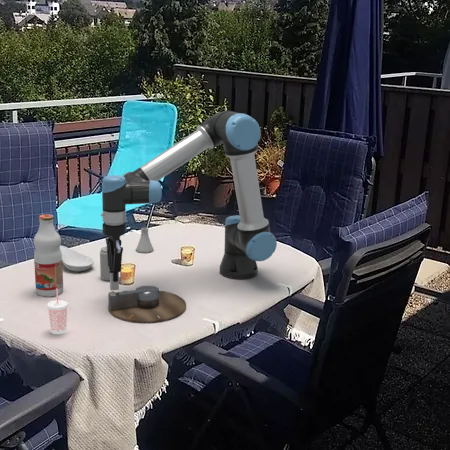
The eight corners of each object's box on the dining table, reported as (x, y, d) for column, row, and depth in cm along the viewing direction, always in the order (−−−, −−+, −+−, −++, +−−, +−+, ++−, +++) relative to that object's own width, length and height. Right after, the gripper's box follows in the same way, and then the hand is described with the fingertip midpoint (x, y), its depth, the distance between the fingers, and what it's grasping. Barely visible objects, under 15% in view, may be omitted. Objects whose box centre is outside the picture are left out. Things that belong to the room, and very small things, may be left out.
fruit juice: (68, 292, 223) (65, 216, 216) (44, 299, 217) (40, 220, 209) (55, 285, 230) (51, 211, 222) (31, 291, 224) (26, 215, 216)
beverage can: (114, 282, 235) (113, 251, 231) (97, 280, 236) (97, 250, 232) (120, 276, 241) (119, 246, 237) (104, 275, 242) (103, 245, 238)
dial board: (170, 289, 230) (170, 285, 230) (197, 316, 207) (197, 312, 207) (99, 298, 219) (99, 295, 219) (120, 328, 196) (120, 324, 196)
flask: (144, 247, 277) (144, 225, 274) (156, 250, 273) (156, 228, 270) (132, 251, 271) (132, 228, 268) (145, 254, 267) (145, 232, 264)
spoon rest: (100, 269, 249) (99, 251, 247) (77, 277, 240) (77, 259, 238) (59, 256, 262) (59, 240, 260) (36, 263, 252) (35, 246, 250)
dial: (154, 297, 218) (154, 282, 216) (162, 306, 211) (162, 290, 209) (106, 304, 211) (106, 289, 209) (112, 313, 204) (112, 297, 202)
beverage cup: (44, 333, 192) (42, 290, 188) (56, 325, 197) (54, 283, 193) (61, 336, 190) (59, 293, 186) (73, 328, 195) (71, 286, 191)
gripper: (98, 218, 212) (98, 284, 219) (107, 228, 201) (108, 297, 207) (119, 216, 216) (119, 281, 222) (130, 226, 204) (130, 294, 210)
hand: (114, 289), depth 215 cm, fingers closed
